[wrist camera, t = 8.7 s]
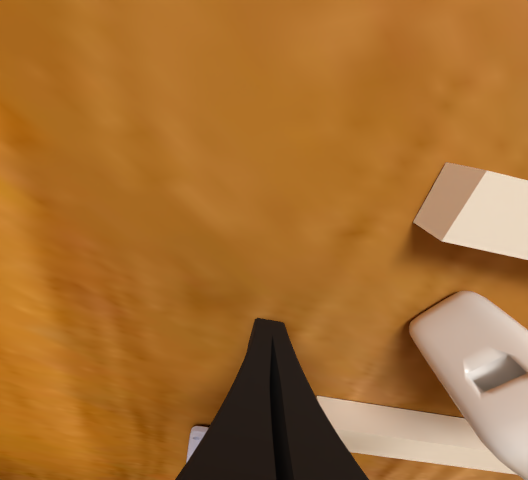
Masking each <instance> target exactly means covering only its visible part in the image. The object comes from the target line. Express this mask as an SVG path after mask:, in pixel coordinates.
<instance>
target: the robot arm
mask: <svg viewBox="0 0 528 480" xmlns="http://www.w3.org/2000/svg"><path fill="white" fill-rule="evenodd" d="M175 480H369V479H368V478H367V476H366V475H365V474H364V472H363V471H362V469H361V468H360V467H359V465H358V464H357V462H356V461H355V459H354V458H353V456H352V455H351V453H350V452H349V450H348V449H347V447H346V446H345V445H344V443H343V442H342V440H341V439H340V437H339V436H338V434H337V432H336V431H335V429H334V428H333V426H332V424H331V423H330V421H329V419H328V418H327V416H326V414H325V413H324V411H323V409H322V407H321V406H320V404H319V402H318V400H317V398H316V397H315V395H314V393H313V391H312V389H311V387H310V385H309V383H308V381H307V379H306V377H305V375H304V373H303V370H302V368H301V366H300V364H299V361H298V359H297V357H296V354H295V352H294V349H293V347H292V344H291V342H290V339H289V336H288V333H287V330H286V327H285V324H284V323H283V322H278V321H272V320H266V319H261V318H257V319H255V322H254V325H253V329H252V333H251V336H250V340H249V344H248V349H247V353H246V356H245V359H244V361H243V363H242V366H241V368H240V370H239V372H238V374H237V377H236V379H235V381H234V383H233V385H232V387H231V389H230V391H229V393H228V395H227V397H226V398H225V400H224V402H223V404H222V406H221V407H220V409H219V411H218V413H217V415H216V416H215V418H214V420H213V422H212V423H211V425H210V427H203V426H194V427H192V429H191V433H190V439H189V446H188V453H187V461H186V465H185V466H184V467H183V469H182V470H181V472H180V473H179V475H178V476H177V478H176V479H175Z"/></svg>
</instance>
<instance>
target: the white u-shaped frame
mask: <svg viewBox="0 0 528 480" xmlns="http://www.w3.org/2000/svg"><path fill="white" fill-rule="evenodd" d="M413 223H415V224H416V225H418V226H419V227H421V228H422V229H424V230H425V231H427V232H428V233H430V234H431V235H433V236H434V237H436V238H437V239H439V240H440V241H442V242H447V243H452V244H456V245H461V246H466V247H470V248H475V249H479V250H484V251H489V252H493V253H498V254H502V255H507V256H512V257H516V258H521V259H526V260H528V181H527V180H523V179H519V178H515V177H511V176H507V175H503V174H499V173H495V172H491V171H487V170H482V169H477V168H472V167H467V166H462V165H457V164H452V163H448V162H446V163H445V165H444V167H443V169H442V171H441V173H440V174H439V176H438V178H437V180H436V182H435V183H434V185H433V187H432V189H431V191H430V192H429V194H428V196H427V198H426V200H425V201H424V203H423V205H422V207H421V209H420V210H419V212H418V214H417V216H416V218H415V219H414V221H413ZM316 398H317V400H318V402H319V404H320V406H321V407H322V409H323V411H324V413H325V414H326V416H327V418H328V419H329V421H330V423H331V424H332V426H333V428H334V429H335V431H336V432H337V434H338V436H339V437H340V439H341V440H342V442H343V443H344V445H345V446H346V447H347V449H348V450H349V452H354V453H362V454H369V455H376V456H384V457H391V458H399V459H406V460H413V461H421V462H428V463H436V464H443V465H450V466H458V467H465V468H473V469H480V470H487V471H495V472H502V473H510V474H516V473H515V472H513V471H512V470H510V469H509V468H508V467H507V466H505V465H504V464H503V463H502V462H500V461H499V460H498V459H497V458H496V457H495V456H494V455H493V453H492V452H491V451H490V450H489V449H488V448H487V447H486V446H485V445H484V444H483V443H482V442H481V440H480V439H479V438H478V436H477V435H476V433H475V432H474V431H473V429H472V428H471V426H470V425H469V423H468V422H467V421H466V419H465V418H459V417H452V416H446V415H439V414H433V413H426V412H419V411H413V410H406V409H400V408H393V407H387V406H380V405H374V404H367V403H361V402H354V401H348V400H341V399H335V398H328V397H322V396H317V397H316Z"/></svg>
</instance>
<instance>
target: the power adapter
mask: <svg viewBox="0 0 528 480" xmlns="http://www.w3.org/2000/svg"><path fill="white" fill-rule="evenodd" d="M409 333H410V336H411V337H412V339H413V341H414V342H415V344H416V346H417V347H418V349H419V350H420V352H421V354H422V355H423V357H424V358H425V360H426V361H427V363H428V364H429V366H430V367H431V369H432V370H433V372H434V373H435V375H436V376H437V378H438V379H439V381H440V382H441V384H442V385H443V387H444V388H445V390H446V391H447V393H448V394H449V396H450V397H451V399H452V400H453V402H454V403H455V405H456V406H457V408H458V409H459V410H460V412H461V413H462V415H463V416H464V418H465V419H466V421H467V422H468V423H469V425H470V426H471V428H472V429H473V431H474V432H475V433H476V435H477V436H478V438H479V439H480V440H481V442H482V443H483V444H484V445H485V446H486V447H487V448H488V449H489V450H490V451H491V452H492V453H493V455H494V456H495V457H496V458H497V459H498V460H499V461H500V462H502V463H503V464H504V465H505V466H507V467H508V468H509V469H510V470H512V471H513V472H515V473H516V474H517V475H519V476H520V477H522V478H523V479H525V480H528V330H527V329H526V328H524V327H523V326H522V325H521V324H519V323H518V322H517V321H516V320H514V319H513V318H512V317H510V316H509V315H508V314H506V313H505V312H504V311H503V310H501V309H500V308H499V307H497V306H496V305H495V304H493V303H492V302H491V301H489V300H488V299H487V298H485V297H483V296H481V295H479V294H477V293H474V292H471V291H460V292H458V293H456V294H453V295H451V296H450V297H448V298H446V299H444V300H443V301H441V302H440V303H438V304H436V305H435V306H433V307H431V308H430V309H428V310H427V311H425V312H424V313H422V314H421V315H419V316H418V317H416V318H415V319H414V320H412V321H411V322H410V325H409Z"/></svg>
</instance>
